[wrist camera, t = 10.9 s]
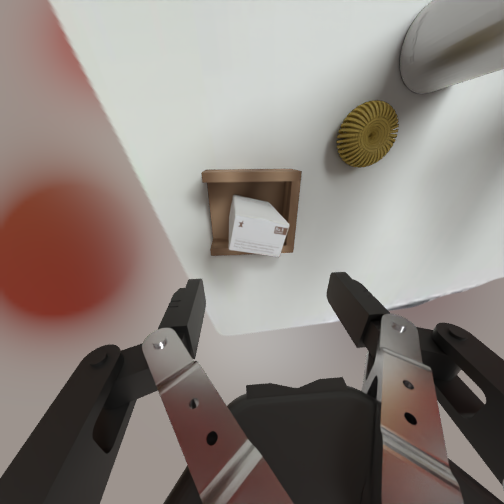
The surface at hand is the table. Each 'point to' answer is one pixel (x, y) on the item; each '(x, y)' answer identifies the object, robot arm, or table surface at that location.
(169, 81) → the table surface
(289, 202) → the u rest
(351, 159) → the sculpture
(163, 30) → the table surface
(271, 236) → the skincare box
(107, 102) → the table surface
